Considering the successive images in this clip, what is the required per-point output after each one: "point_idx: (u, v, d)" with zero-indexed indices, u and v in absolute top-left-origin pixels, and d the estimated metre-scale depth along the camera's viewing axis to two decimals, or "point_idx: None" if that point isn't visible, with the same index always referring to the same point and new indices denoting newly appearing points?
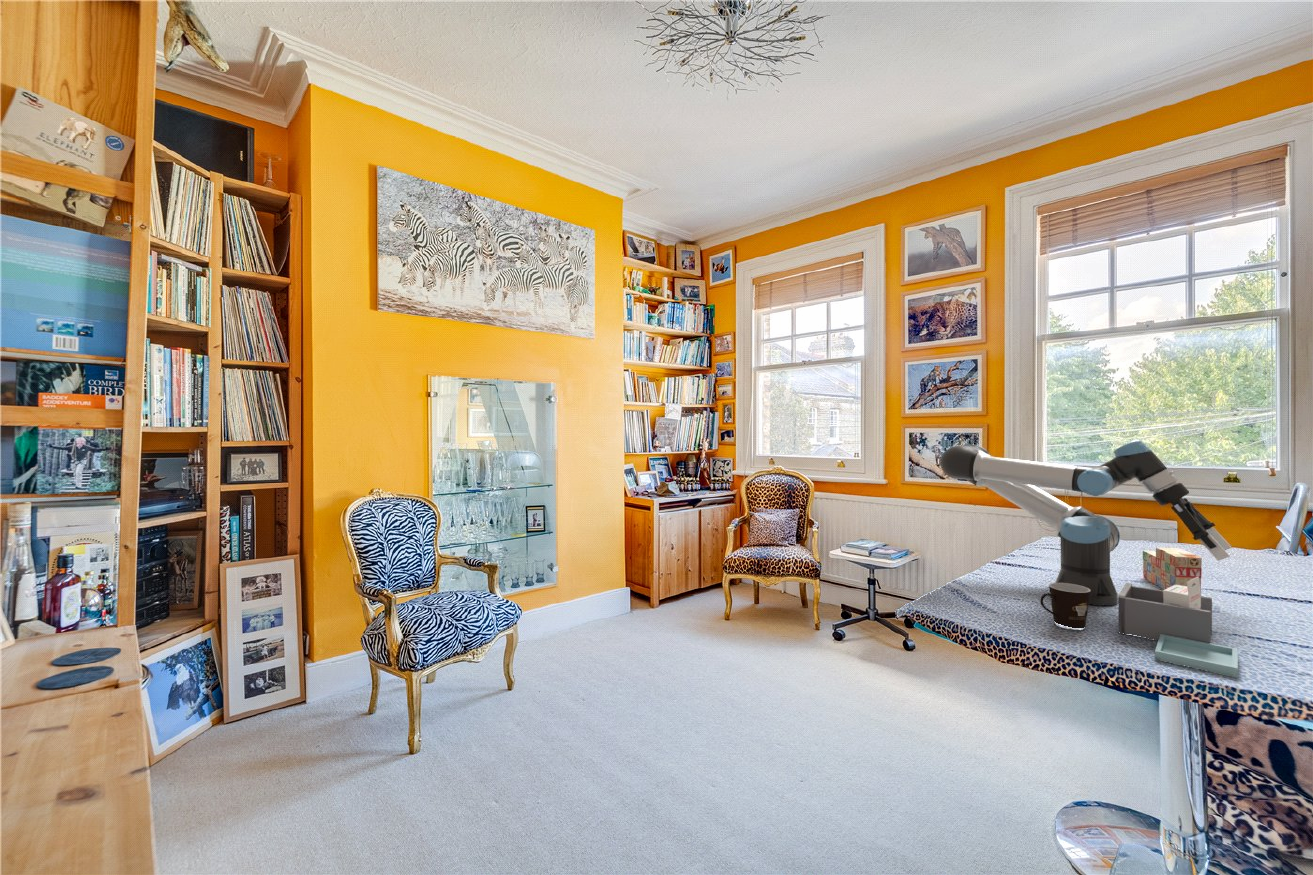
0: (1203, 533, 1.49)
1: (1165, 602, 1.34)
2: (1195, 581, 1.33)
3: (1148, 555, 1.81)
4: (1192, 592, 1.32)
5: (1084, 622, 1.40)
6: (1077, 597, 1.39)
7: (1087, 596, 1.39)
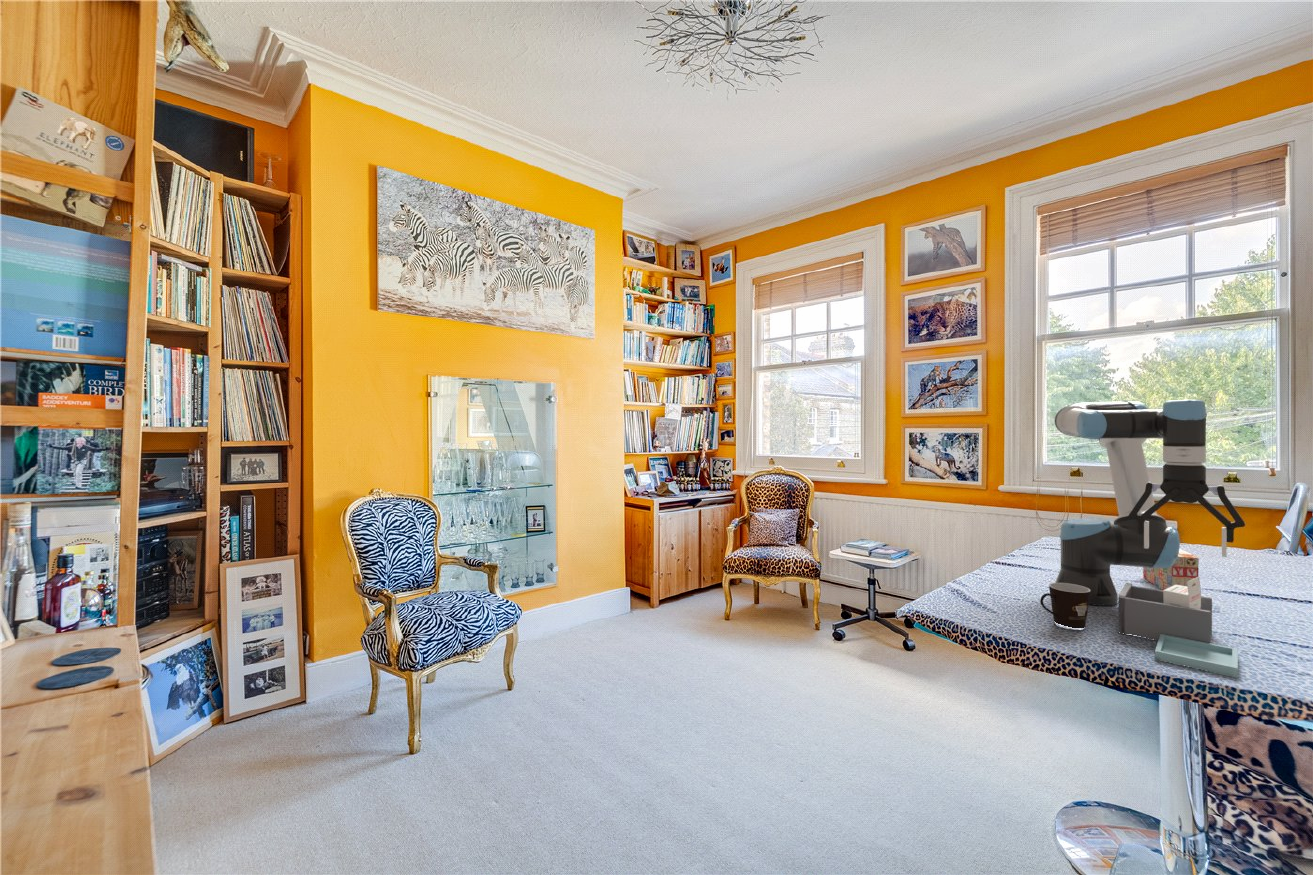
0: (1129, 516, 1.41)
1: (1165, 602, 1.34)
2: (1195, 581, 1.33)
3: None
4: (1192, 592, 1.32)
5: (1084, 622, 1.40)
6: (1077, 597, 1.39)
7: (1087, 596, 1.39)
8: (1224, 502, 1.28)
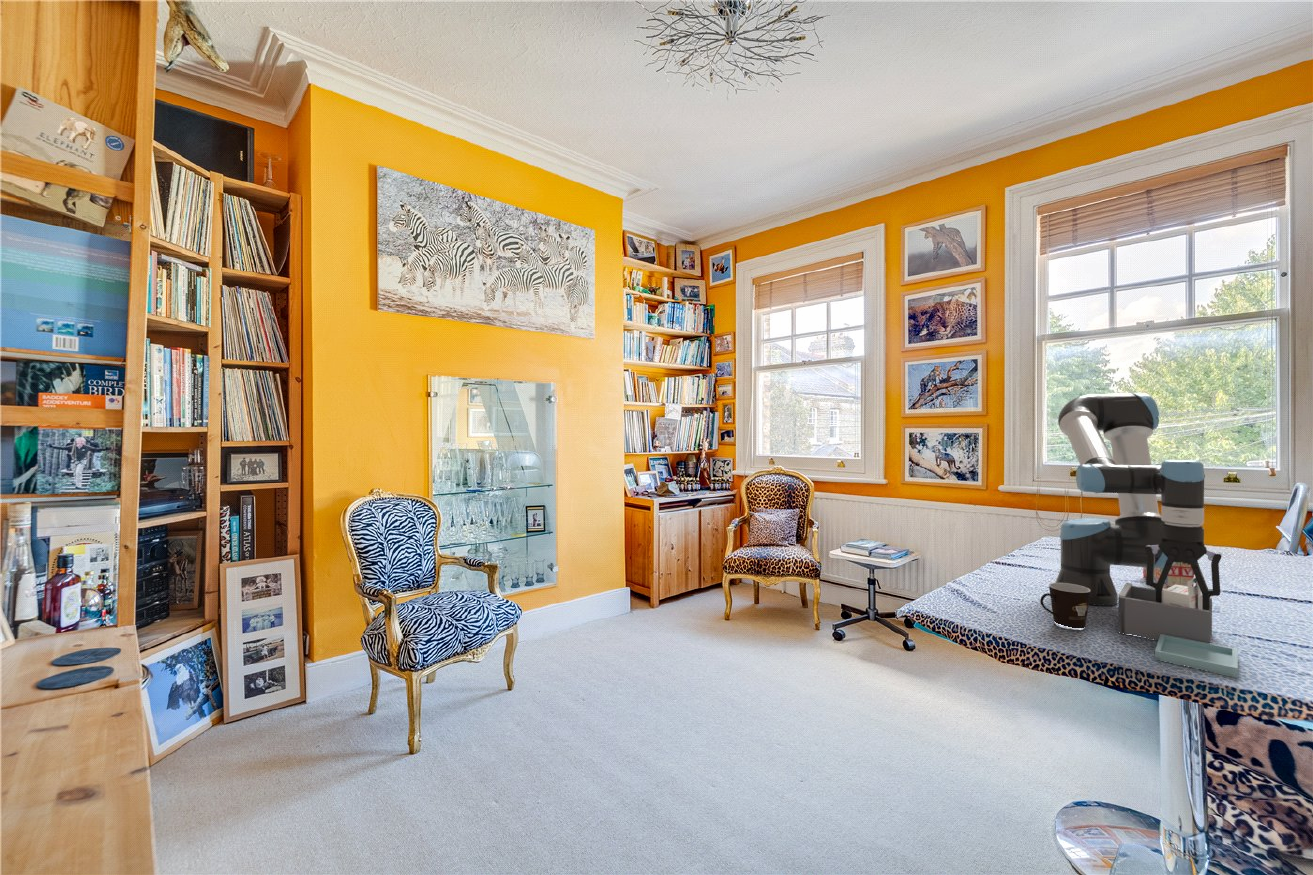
0: None
1: (1165, 602, 1.34)
2: (1195, 581, 1.33)
3: None
4: (1192, 592, 1.32)
5: (1084, 622, 1.40)
6: (1077, 597, 1.39)
7: (1087, 596, 1.39)
8: (1213, 569, 1.30)
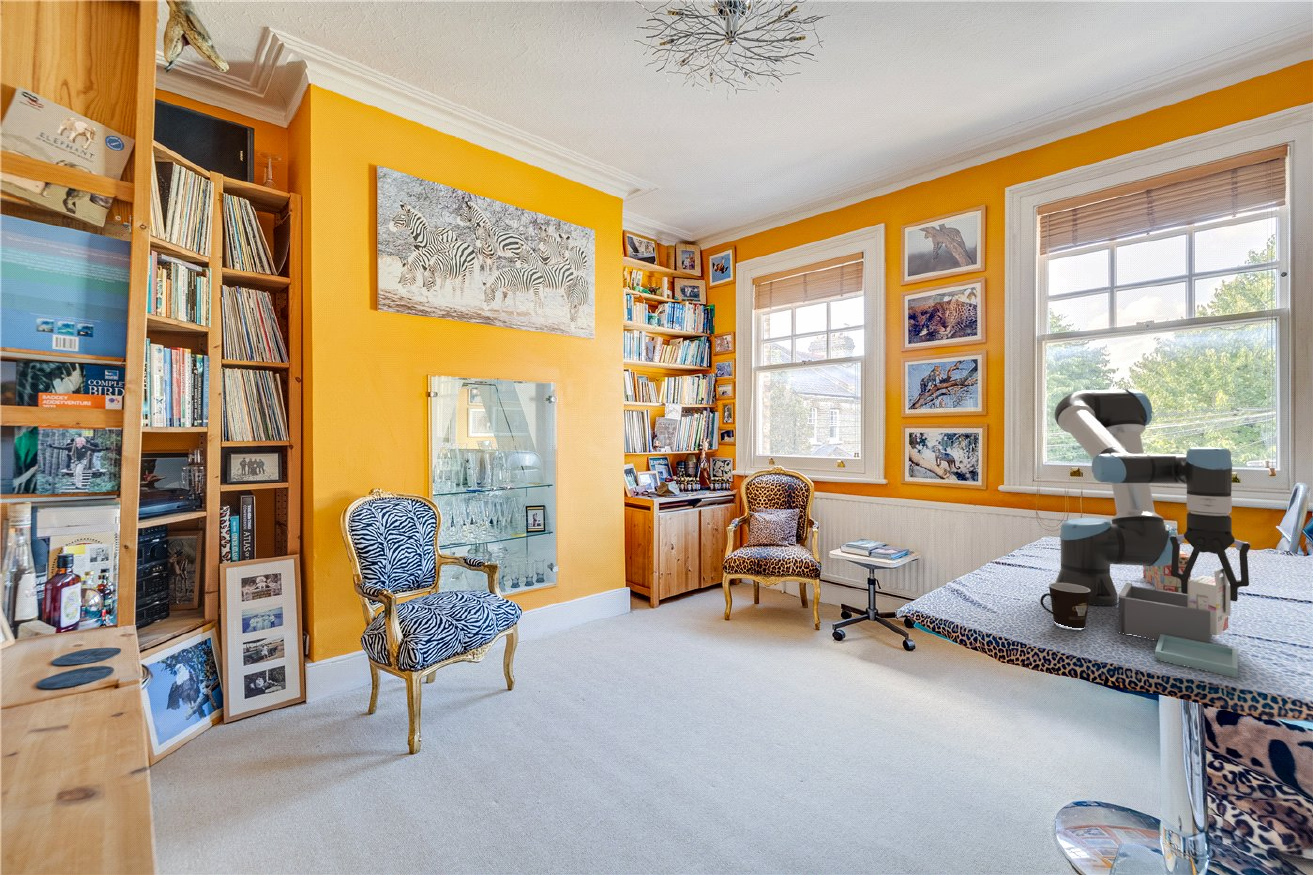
0: (1171, 574, 1.35)
1: (1191, 593, 1.30)
2: (1223, 571, 1.30)
3: None
4: (1220, 583, 1.28)
5: (1084, 622, 1.40)
6: (1077, 597, 1.39)
7: (1087, 596, 1.39)
8: (1241, 559, 1.26)
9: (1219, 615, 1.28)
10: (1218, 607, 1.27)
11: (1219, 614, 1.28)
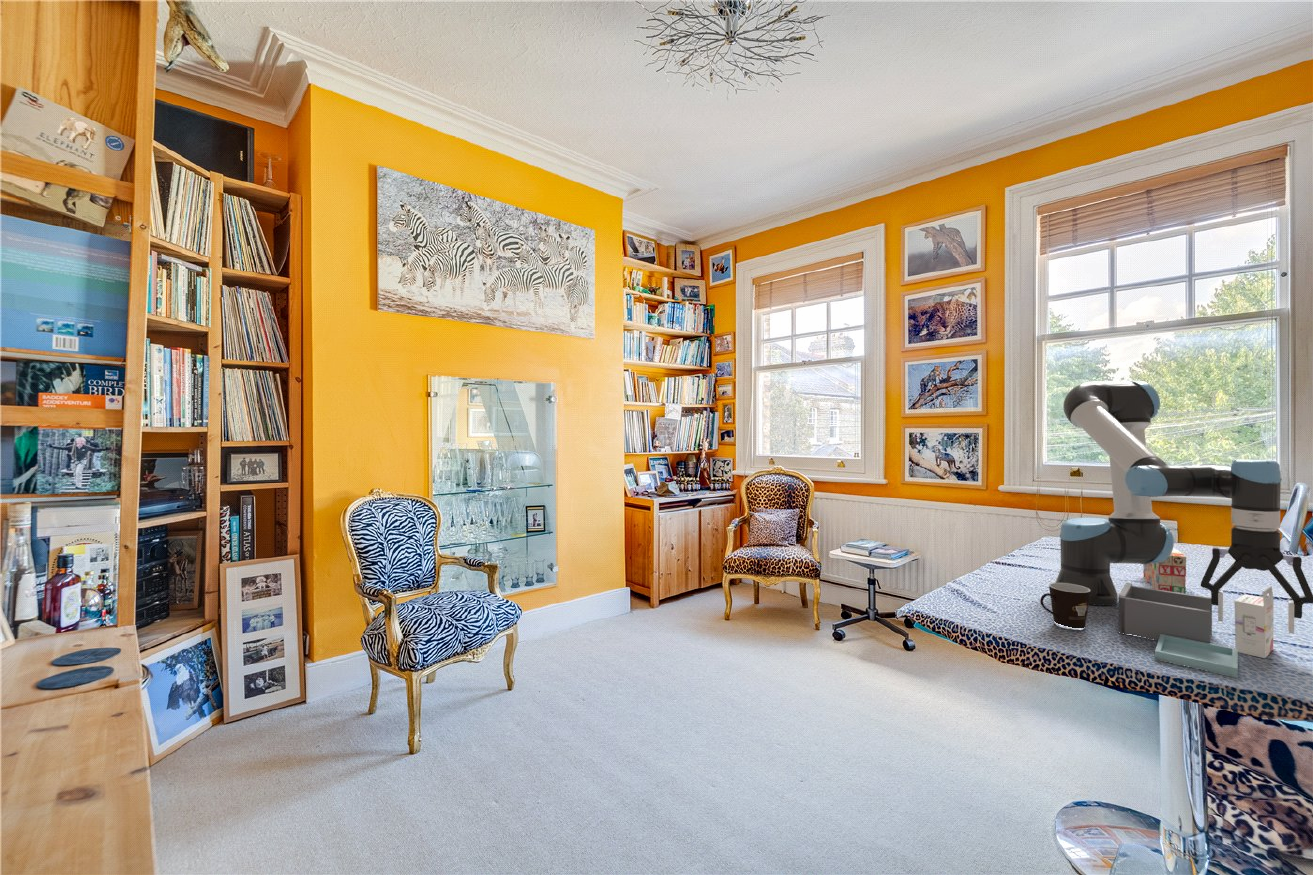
0: (1201, 585, 1.31)
1: (1237, 614, 1.25)
2: (1269, 591, 1.25)
3: None
4: (1267, 603, 1.23)
5: (1084, 622, 1.40)
6: (1077, 597, 1.39)
7: (1087, 596, 1.39)
8: (1297, 574, 1.20)
9: (1267, 637, 1.23)
10: (1266, 629, 1.22)
11: (1267, 636, 1.23)
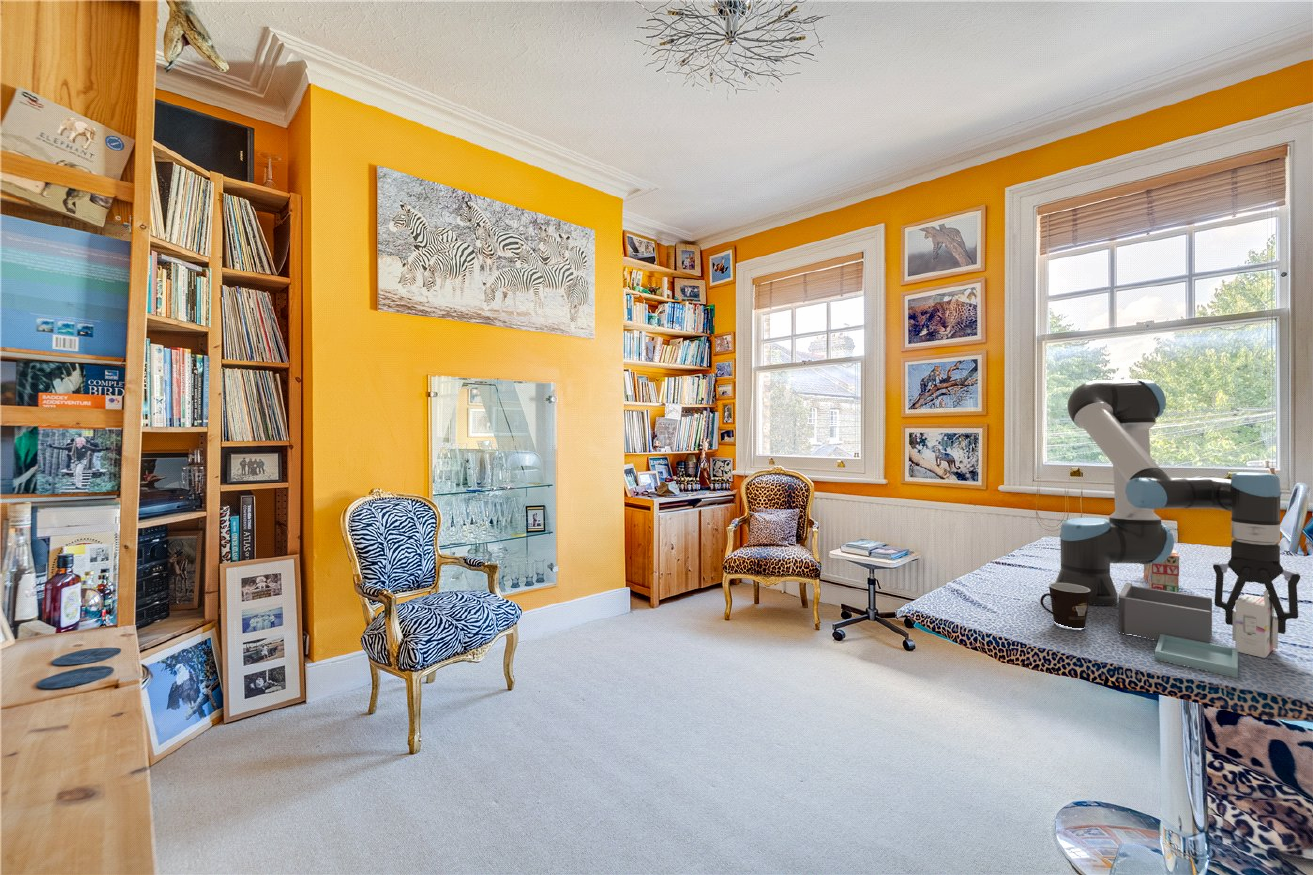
0: (1215, 604, 1.30)
1: (1238, 613, 1.25)
2: None
3: None
4: (1268, 603, 1.23)
5: (1084, 622, 1.40)
6: (1077, 597, 1.39)
7: (1087, 596, 1.39)
8: (1290, 590, 1.21)
9: (1267, 637, 1.23)
10: (1266, 629, 1.22)
11: (1267, 636, 1.23)
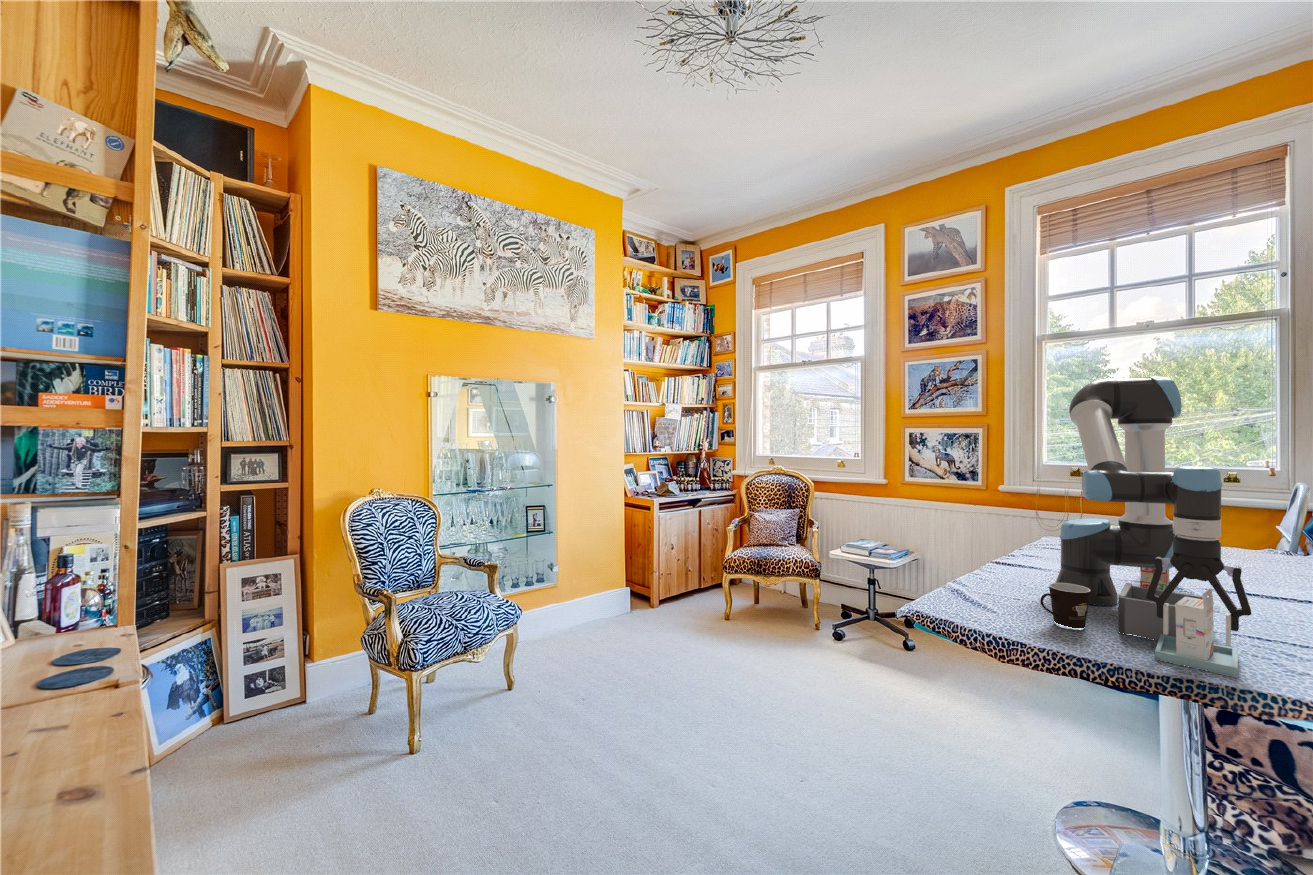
0: None
1: (1178, 617, 1.22)
2: (1209, 593, 1.21)
3: None
4: (1207, 606, 1.20)
5: (1084, 622, 1.40)
6: (1077, 597, 1.39)
7: (1087, 596, 1.39)
8: (1236, 586, 1.17)
9: (1207, 640, 1.19)
10: (1206, 632, 1.19)
11: (1207, 639, 1.19)
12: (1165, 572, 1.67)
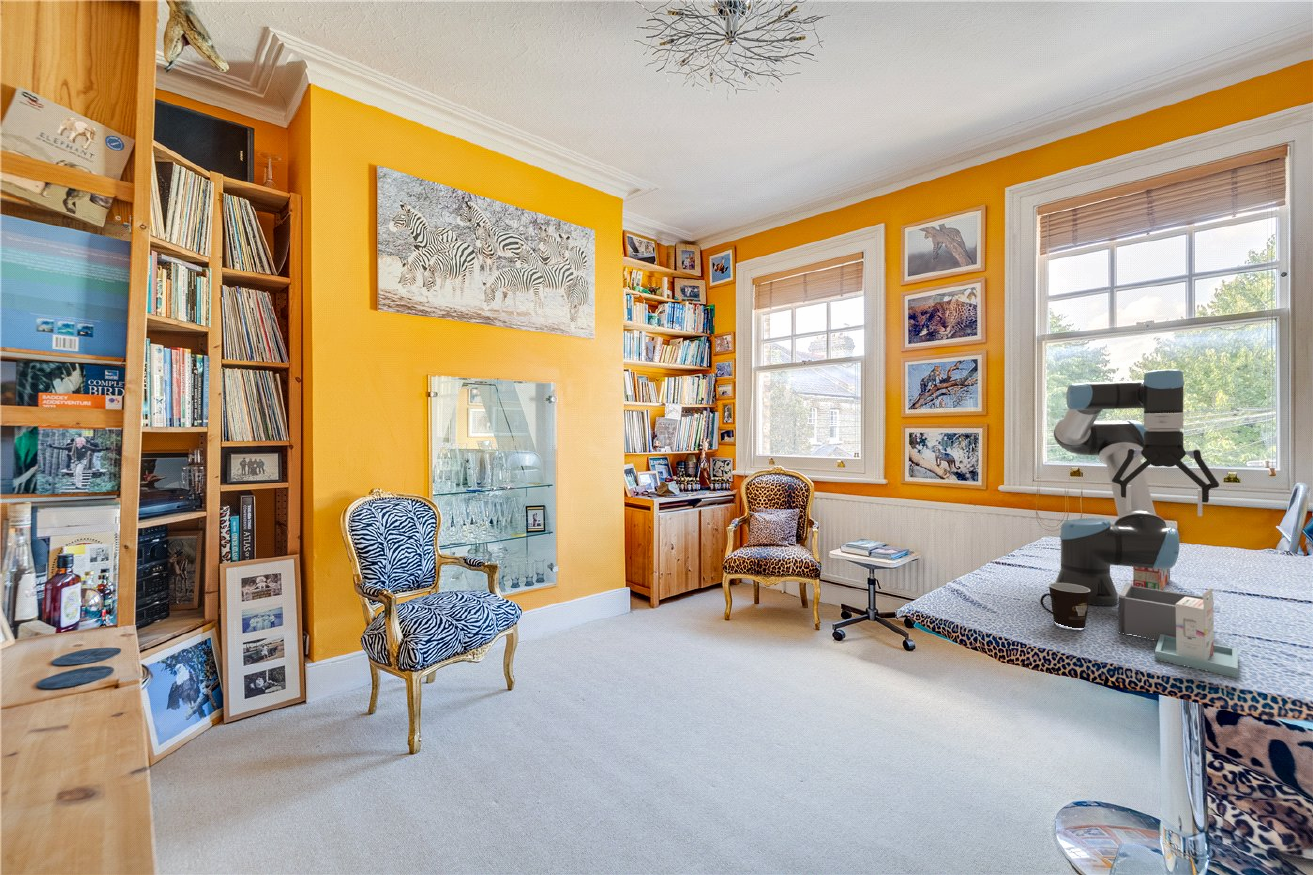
0: None
1: (1178, 617, 1.22)
2: (1209, 593, 1.21)
3: None
4: (1207, 606, 1.20)
5: (1084, 622, 1.40)
6: (1077, 597, 1.39)
7: (1087, 596, 1.39)
8: (1200, 465, 1.37)
9: (1207, 641, 1.19)
10: (1206, 632, 1.19)
11: (1207, 639, 1.19)
12: (1157, 571, 1.69)
